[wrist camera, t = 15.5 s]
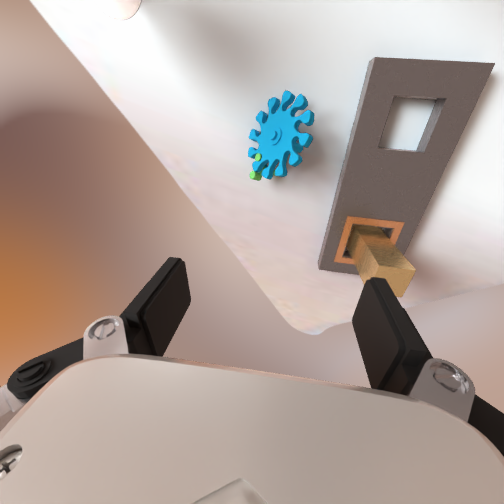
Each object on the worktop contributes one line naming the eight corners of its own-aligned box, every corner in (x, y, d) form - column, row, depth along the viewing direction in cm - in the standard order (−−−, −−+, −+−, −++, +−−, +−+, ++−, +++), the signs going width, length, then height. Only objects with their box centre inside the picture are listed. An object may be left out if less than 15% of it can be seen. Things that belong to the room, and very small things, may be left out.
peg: (353, 224, 36) (379, 265, 26) (379, 227, 36) (416, 270, 25) (346, 246, 38) (367, 292, 28) (371, 249, 38) (401, 297, 27)
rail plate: (369, 61, 26) (375, 56, 24) (481, 67, 25) (496, 62, 23) (317, 263, 40) (319, 270, 38) (387, 272, 39) (392, 279, 37)
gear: (278, 71, 26) (325, 119, 22) (306, 94, 31) (350, 138, 26) (231, 151, 33) (261, 200, 29) (259, 161, 37) (289, 205, 33)
